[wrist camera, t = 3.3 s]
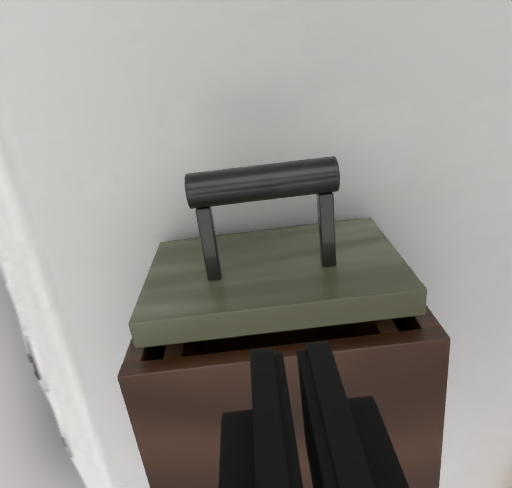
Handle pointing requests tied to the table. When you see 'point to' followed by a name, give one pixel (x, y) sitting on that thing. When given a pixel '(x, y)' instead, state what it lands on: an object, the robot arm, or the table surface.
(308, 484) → the cabinet
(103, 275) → the table surface
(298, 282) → the drawer
